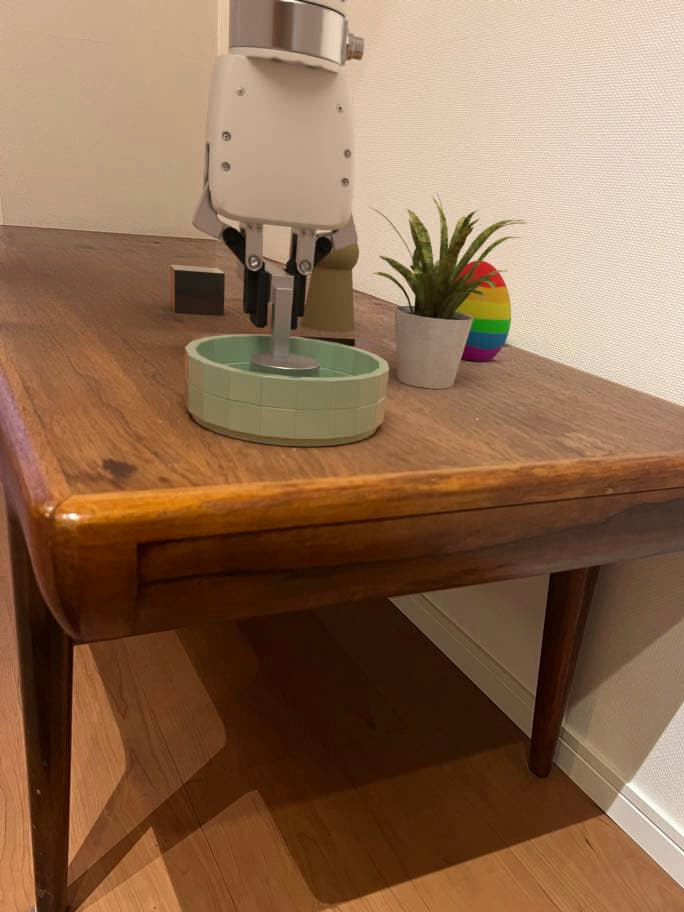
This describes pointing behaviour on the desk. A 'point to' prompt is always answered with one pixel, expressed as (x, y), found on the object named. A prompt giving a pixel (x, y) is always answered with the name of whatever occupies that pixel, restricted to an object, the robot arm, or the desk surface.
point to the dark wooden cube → (197, 290)
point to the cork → (332, 295)
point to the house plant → (437, 302)
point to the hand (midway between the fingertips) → (272, 323)
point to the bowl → (285, 392)
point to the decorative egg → (486, 314)
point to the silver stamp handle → (280, 329)
